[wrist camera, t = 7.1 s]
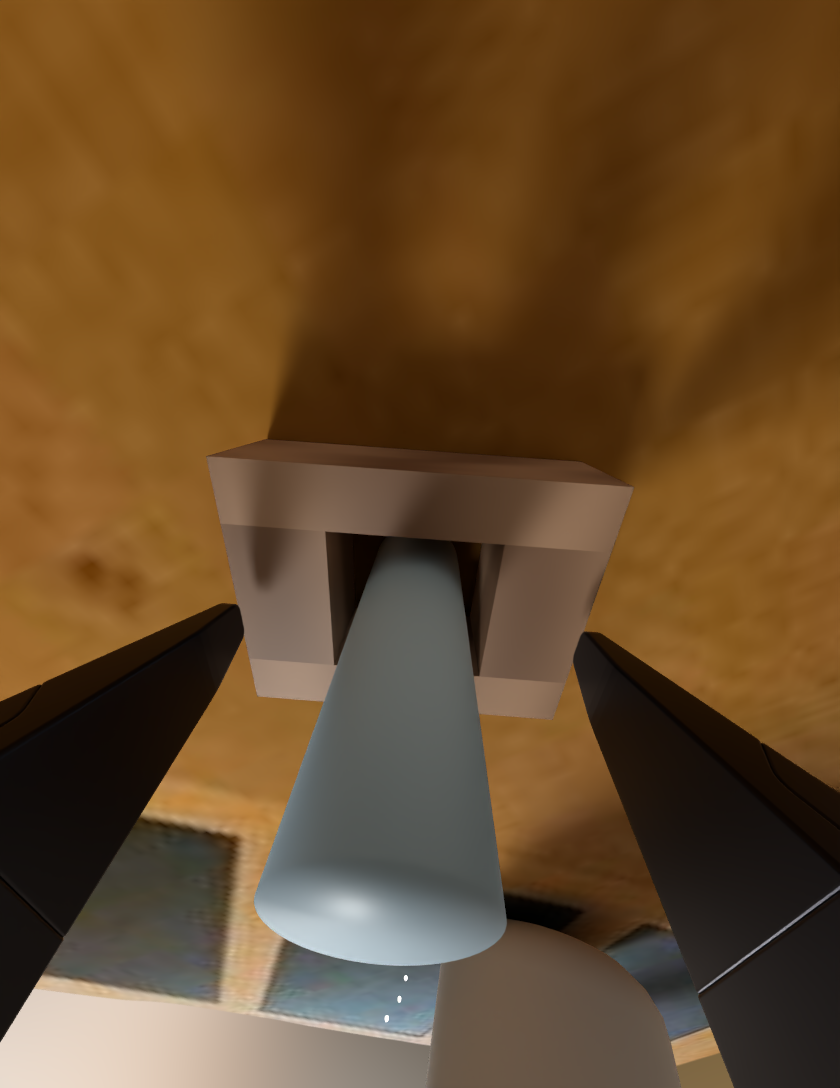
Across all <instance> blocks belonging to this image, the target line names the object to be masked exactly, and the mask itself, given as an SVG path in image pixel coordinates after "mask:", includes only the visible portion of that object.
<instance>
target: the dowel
mask: <svg viewBox="0 0 840 1088" xmlns="http://www.w3.org/2000/svg"><path fill="white" fill-rule="evenodd" d="M254 905H255V909H256V911H257V913H258V915H259V917H260V918H261V919H262V921H263V922H264V923H265V924H266V925H267V926H268V927H269V928H270V929H272V930H273V931H274V932H276V933H277V934H279V935H280V936H282V937H284V938H285V939H287V940H289V941H291V942H293V943H295V944H297V945H299V946H302V947H304V948H307V949H309V950H312V951H315V952H318V953H321V954H324V955H328V956H332V957H336V958H340V959H345V960H350V961H356V962H362V963H370V964H379V965H397V966H412V965H430V964H438V963H445V962H450V961H455V960H460V959H463V958H467V957H470V956H473V955H475V954H478V953H480V952H482V951H484V950H486V949H488V948H489V947H491V946H492V945H494V944H495V943H496V942H497V941H498V940H499V939H500V938H501V937H502V935H503V934H504V932H505V929H506V926H507V919H506V911H505V903H504V896H503V889H502V881H501V874H500V866H499V859H498V852H497V844H496V837H495V830H494V822H493V815H492V807H491V800H490V793H489V785H488V778H487V771H486V763H485V756H484V749H483V741H482V734H481V726H480V719H479V712H478V704H477V697H476V690H475V682H474V675H473V667H472V660H471V653H470V645H469V638H468V631H467V623H466V616H465V608H464V601H463V594H462V586H461V579H460V572H459V564H458V557H457V553H456V550H455V547H454V546H453V544H452V542H451V541H447V540H434V539H420V538H407V537H393V536H387V537H386V538H385V539H384V540H383V542H382V543H381V545H380V547H379V550H378V552H377V555H376V558H375V561H374V563H373V566H372V569H371V572H370V575H369V577H368V580H367V583H366V586H365V589H364V591H363V594H362V597H361V600H360V603H359V605H358V608H357V611H356V614H355V617H354V619H353V622H352V625H351V628H350V630H349V633H348V636H347V639H346V642H345V644H344V647H343V650H342V653H341V656H340V658H339V661H338V664H337V667H336V670H335V672H334V675H333V678H332V681H331V684H330V686H329V689H328V692H327V695H326V698H325V700H324V703H323V706H322V709H321V712H320V714H319V717H318V720H317V723H316V725H315V728H314V731H313V734H312V737H311V739H310V742H309V745H308V748H307V751H306V753H305V756H304V759H303V762H302V765H301V767H300V770H299V773H298V776H297V779H296V781H295V784H294V787H293V790H292V793H291V795H290V798H289V801H288V804H287V807H286V809H285V812H284V815H283V818H282V821H281V823H280V826H279V829H278V832H277V834H276V837H275V840H274V843H273V846H272V848H271V851H270V854H269V857H268V860H267V862H266V865H265V868H264V871H263V874H262V876H261V879H260V882H259V885H258V888H257V890H256V893H255V898H254Z"/></svg>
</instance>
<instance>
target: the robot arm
mask: <svg viewBox="0 0 840 1088" xmlns="http://www.w3.org/2000/svg"><path fill="white" fill-rule="evenodd" d="M243 636H244V625H243V620H242V615H241V610H240V607H239V606H238V605H236V604H227V603H221V604H218V605H216V606H214V607H212V608H209V609H207V610H205V611H203V612H200V613H198V614H196V615H194V616H191V617H189V618H187V619H185V620H182V621H180V622H178V623H176V624H173V625H171V626H169V627H167V628H165V629H162V630H160V631H158V632H156V633H153V634H151V635H149V636H147V637H144V638H142V639H140V640H138V641H135V642H133V643H131V644H129V645H126V646H124V647H122V648H120V649H117V650H115V651H113V652H111V653H108V654H106V655H104V656H102V657H100V658H97V659H95V660H93V661H91V662H88V663H86V664H84V665H82V666H79V667H77V668H75V669H73V670H70V671H68V672H66V673H64V674H61V675H59V676H57V677H55V678H52V679H50V680H48V681H46V682H44V683H43V684H42V685H36V686H34V687H32V688H30V689H28V690H25V691H23V692H21V693H19V694H16V695H14V696H12V697H10V698H7V699H5V700H3V701H0V1042H1V1040H2V1039H3V1037H4V1036H5V1034H6V1032H7V1031H8V1029H9V1027H10V1026H11V1024H12V1023H13V1021H14V1019H15V1018H16V1016H17V1015H18V1013H19V1011H20V1010H21V1008H22V1006H23V1005H24V1003H25V1002H26V1000H27V998H28V997H29V995H30V993H31V992H32V990H33V989H34V987H35V985H36V984H37V982H38V981H39V979H40V977H41V976H42V974H43V973H44V971H45V969H46V968H47V966H48V964H49V963H50V961H51V960H52V958H53V956H54V955H55V953H56V951H57V950H58V948H59V947H60V945H61V943H62V942H63V937H64V936H66V934H67V933H68V931H69V930H70V928H71V927H72V925H73V923H74V922H75V920H76V919H77V917H78V915H79V914H80V912H81V910H82V909H83V907H84V906H85V904H86V902H87V901H88V899H89V898H90V896H91V894H92V893H93V891H94V889H95V888H96V886H97V885H98V883H99V881H100V880H101V878H102V876H103V875H104V873H105V872H106V870H107V868H108V867H109V865H110V864H111V862H112V860H113V859H114V857H115V855H116V854H117V852H118V851H119V849H120V847H121V846H122V844H123V843H124V841H125V839H126V838H127V836H128V834H129V833H130V831H131V830H132V828H133V826H134V825H135V823H136V821H137V820H138V818H139V817H140V815H141V813H142V812H143V810H144V809H145V807H146V805H147V804H148V802H149V800H150V799H151V797H152V796H153V794H154V792H155V791H156V789H157V788H158V786H159V784H160V783H161V781H162V779H163V778H164V776H165V775H166V773H167V771H168V770H169V768H170V767H171V765H172V763H173V762H174V760H175V758H176V757H177V755H178V754H179V752H180V750H181V749H182V747H183V745H184V744H185V742H186V741H187V739H188V737H189V736H190V734H191V733H192V731H193V729H194V728H195V726H196V724H197V723H198V721H199V720H200V718H201V716H202V715H203V713H204V712H205V710H206V708H207V707H208V705H209V703H210V702H211V700H212V698H213V697H214V695H215V693H216V692H217V690H218V688H219V686H220V684H221V682H222V680H223V678H224V676H225V674H226V672H227V670H228V668H229V666H230V664H231V662H232V660H233V658H234V656H235V653H236V651H237V649H238V647H239V645H240V643H241V641H242V639H243ZM573 664H574V668H575V671H576V675H577V678H578V682H579V685H580V689H581V693H582V696H583V700H584V703H585V707H586V710H587V714H588V717H589V720H590V723H591V726H592V728H593V731H594V734H595V736H596V739H597V741H598V744H599V746H600V749H601V751H602V754H603V756H604V759H605V762H606V764H607V767H608V769H609V772H610V774H611V777H612V779H613V782H614V784H615V787H616V789H617V792H618V794H619V797H620V799H621V802H622V804H623V807H624V810H625V812H626V815H627V817H628V820H629V822H630V825H631V827H632V830H633V832H634V835H635V837H636V840H637V842H638V845H639V847H640V850H641V853H642V855H643V858H644V860H645V863H646V865H647V868H648V870H649V873H650V875H651V878H652V880H653V883H654V885H655V888H656V890H657V893H658V895H659V898H660V901H661V903H662V906H663V908H664V911H665V913H666V916H667V918H668V921H669V923H670V926H671V928H672V931H673V933H674V936H675V938H676V941H677V944H678V946H679V949H680V951H681V954H682V956H683V959H684V961H685V964H686V966H687V969H688V971H689V974H690V976H691V979H692V981H693V984H694V986H695V989H696V991H697V992H698V993H699V996H698V997H699V1000H700V1003H701V1005H702V1008H703V1010H704V1013H705V1015H706V1018H707V1020H708V1023H709V1025H710V1028H711V1030H712V1033H713V1035H714V1038H715V1040H716V1043H717V1045H718V1048H719V1051H720V1053H721V1055H722V1058H723V1061H724V1063H725V1066H726V1068H727V1071H728V1073H729V1076H730V1078H731V1081H732V1083H733V1086H734V1088H840V793H839V792H837V791H835V790H834V789H832V788H831V787H829V786H828V785H826V784H824V783H823V782H821V781H820V780H818V779H817V778H815V777H814V776H812V775H811V774H809V773H808V772H806V771H805V770H803V769H802V768H800V767H799V766H797V765H796V764H794V763H793V762H791V761H790V760H788V759H787V758H785V757H784V756H782V755H781V754H779V753H778V752H776V751H775V750H773V749H772V748H770V747H769V746H767V745H766V744H764V743H760V741H759V740H758V739H757V738H755V737H754V736H752V735H751V734H749V733H748V732H746V731H745V730H744V729H742V728H741V727H739V726H738V725H736V724H735V723H733V722H732V721H730V720H729V719H727V718H726V717H724V716H723V715H721V714H720V713H718V712H717V711H715V710H714V709H712V708H711V707H709V706H708V705H706V704H705V703H703V702H702V701H700V700H699V699H698V698H696V697H695V696H693V695H692V694H690V693H689V692H687V691H686V690H684V689H683V688H681V687H680V686H678V685H677V684H675V683H674V682H672V681H671V680H669V679H668V678H666V677H665V676H663V675H662V674H660V673H659V672H657V671H656V670H654V669H653V668H652V667H650V666H649V665H647V664H646V663H644V662H643V661H641V660H640V659H638V658H637V657H635V656H634V655H632V654H631V653H629V652H628V651H626V650H625V649H623V648H622V647H620V646H619V645H617V644H616V643H614V642H613V641H611V640H610V639H609V638H607V637H606V636H604V635H603V634H601V633H598V632H583V633H582V634H581V635H580V638H579V641H578V644H577V647H576V649H575V652H574V656H573Z"/></svg>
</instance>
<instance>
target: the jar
mask: <svg viewBox="0 0 840 1088" xmlns="http://www.w3.org/2000/svg"><path fill="white" fill-rule="evenodd" d="M407 979H408V977H407V975H405V976H404V980H405V981H407ZM398 1002H399V1003H400V1002H401V997H400V996H399V997H398ZM388 1020H389V1017H388V1015H386V1016H385V1022H388ZM425 1088H681V1085H680V1080H679V1076H678V1072H677V1068H676V1063H675V1059H674V1055H673V1050H672V1046H671V1042H670V1039H669V1036H668V1033H667V1029H666V1026H665V1023H664V1019H663V1017H662V1015H661V1014H660V1012H659V1010H658V1009H657V1007H656V1006H655V1004H654V1002H653V1001H652V999H651V997H650V996H649V994H648V993H647V991H646V989H645V988H644V987H643V986H642V985H641V984H640V983H639V982H638V981H637V980H636V979H635V978H634V977H632V976H631V975H630V974H629V973H628V972H627V971H626V970H625V969H624V968H623V967H622V966H621V965H620V964H619V963H618V962H617V961H615V960H614V959H612V958H611V957H610V956H608V955H607V954H605V953H603V952H602V951H600V950H598V949H596V948H595V947H593V946H591V945H589V944H587V943H585V942H583V941H580V940H578V939H576V938H574V937H571V936H569V935H566V934H564V933H561V932H558V931H556V930H552V929H549V928H546V927H543V926H540V925H536V924H532V923H527V922H523V921H518V920H512V919H507V926H506V929H505V932H504V934H503V935H502V937H501V938H500V939H499V940H498V941H497V942H496V943H495V944H494V945H492V946H491V947H489V948H488V949H486V950H484V951H482V952H480V953H478V954H475V955H473V956H470V957H467V958H463V959H460V960H455V961H450V962H445V963H441V966H440V974H439V983H438V991H437V999H436V1007H435V1015H434V1023H433V1031H432V1039H431V1048H430V1055H429V1064H428V1071H427V1079H426V1087H425Z"/></svg>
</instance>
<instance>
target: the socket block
mask: <svg viewBox="0 0 840 1088" xmlns="http://www.w3.org/2000/svg"><path fill="white" fill-rule="evenodd" d="M206 458H207V462H208V467H209V472H210V476H211V481H212V486H213V490H214V495H215V500H216V505H217V509H218V514H219V519H220V523H221V528H222V533H223V537H224V542H225V547H226V551H227V556H228V561H229V566H230V570H231V575H232V580H233V584H234V589H235V594H236V598H237V603H238V606H239V607H240V610H241V615H242V620H243V625H244V636H245V641H246V645H247V650H248V655H249V659H250V664H251V669H252V673H253V678H254V683H255V688H256V692H257V696H261V697H274V698H286V699H299V700H311V701H324V700H325V698H326V695H327V692H328V689H329V686H330V684H331V681H332V678H333V675H334V672H335V670H336V667H337V664H338V661H339V658H340V656H341V653H342V650H343V647H344V644H345V642H346V639H347V636H348V633H349V630H350V628H351V625H352V622H353V619H354V617H355V614H356V611H357V608H355V589H354V552H353V534H367V535H380V536H393V537H407V538H420V539H434V540H447V541H461V542H474V543H482V545H481V551H480V557H479V564H478V570H477V576H476V583H475V589H474V595H473V601H472V608H471V614H470V617H466V623H467V631H468V638H469V645H470V653H471V660H472V667H473V675H474V682H475V690H476V697H477V704H478V712H479V714H487V715H500V716H513V717H525V718H538V719H550V720H553V717H554V714H555V711H556V708H557V706H558V703H559V700H560V697H561V694H562V691H563V689H564V686H565V683H566V680H567V677H568V674H569V671H570V669H571V666H572V663H573V656H574V652H575V649H576V647H577V644H578V641H579V638H580V635H581V634H582V633H583V632H584V629H585V626H586V623H587V620H588V617H589V615H590V612H591V609H592V606H593V603H594V600H595V598H596V595H597V592H598V589H599V586H600V583H601V580H602V578H603V575H604V572H605V569H606V566H607V563H608V561H609V558H610V555H611V552H612V549H613V546H614V544H615V541H616V538H617V535H618V532H619V529H620V526H621V524H622V521H623V518H624V515H625V512H626V509H627V507H628V504H629V501H630V498H631V495H632V492H633V489H634V487H633V486H631V485H629V484H627V483H624V482H622V481H620V480H618V479H616V478H614V477H612V476H610V475H608V474H606V473H604V472H602V471H600V470H597V469H595V468H593V467H591V466H589V465H587V464H585V463H583V462H577V461H563V460H549V459H536V458H522V457H508V456H494V455H480V454H466V453H452V452H438V451H424V450H410V449H396V448H382V447H368V446H354V445H340V444H326V443H312V442H298V441H284V440H270V439H265V440H262V441H258V442H255V443H251V444H248V445H244V446H241V447H237V448H234V449H230V450H227V451H223V452H220V453H216V454H213V455H209V456H206Z"/></svg>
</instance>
